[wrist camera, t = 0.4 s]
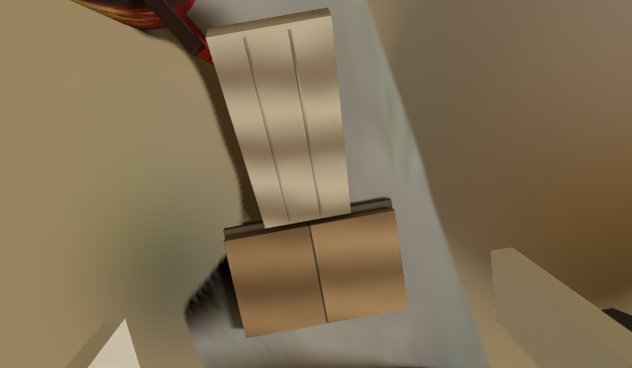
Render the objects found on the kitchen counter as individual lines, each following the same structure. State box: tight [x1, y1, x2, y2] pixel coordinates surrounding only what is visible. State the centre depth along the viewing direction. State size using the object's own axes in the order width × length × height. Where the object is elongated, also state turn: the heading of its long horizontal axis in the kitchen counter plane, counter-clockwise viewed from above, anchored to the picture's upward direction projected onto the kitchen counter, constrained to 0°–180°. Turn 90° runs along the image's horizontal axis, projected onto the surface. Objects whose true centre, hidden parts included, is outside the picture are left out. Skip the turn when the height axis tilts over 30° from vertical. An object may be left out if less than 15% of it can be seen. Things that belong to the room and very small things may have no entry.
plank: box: [206, 8, 351, 228], centre depth 32 cm, size 18×8×2 cm, turn 11°
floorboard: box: [223, 198, 408, 338], centre depth 39 cm, size 11×16×2 cm
